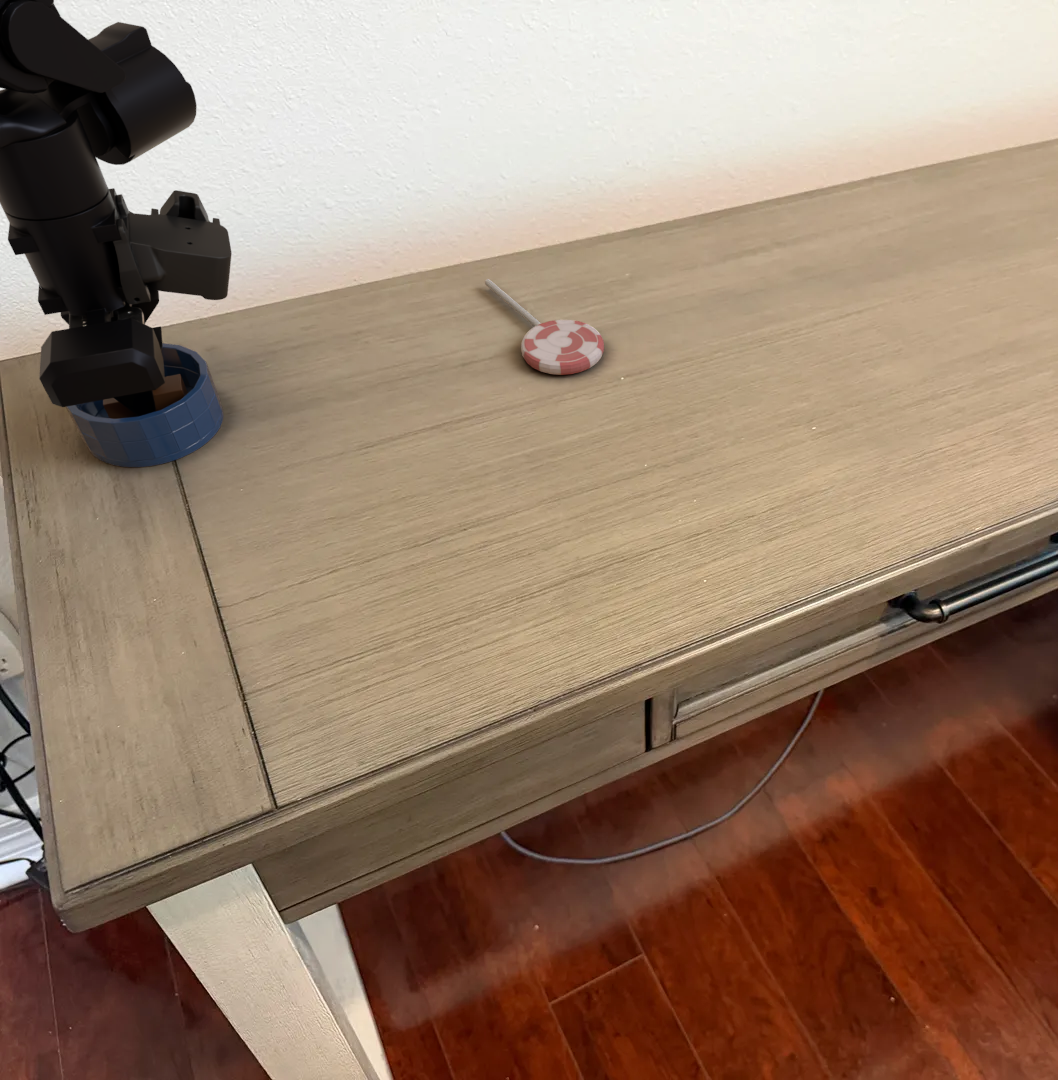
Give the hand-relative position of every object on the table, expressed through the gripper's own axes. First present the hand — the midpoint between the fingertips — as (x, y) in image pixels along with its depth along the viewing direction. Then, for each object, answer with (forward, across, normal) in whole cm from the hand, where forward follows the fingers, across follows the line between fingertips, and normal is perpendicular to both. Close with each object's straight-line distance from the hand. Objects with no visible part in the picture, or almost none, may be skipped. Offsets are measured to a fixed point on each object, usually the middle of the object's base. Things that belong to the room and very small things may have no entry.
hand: (147, 405), depth 73 cm
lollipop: (+2, +4, -29) cm, 29 cm away
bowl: (+2, +1, 0) cm, 3 cm away
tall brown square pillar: (+1, 0, 0) cm, 1 cm away
